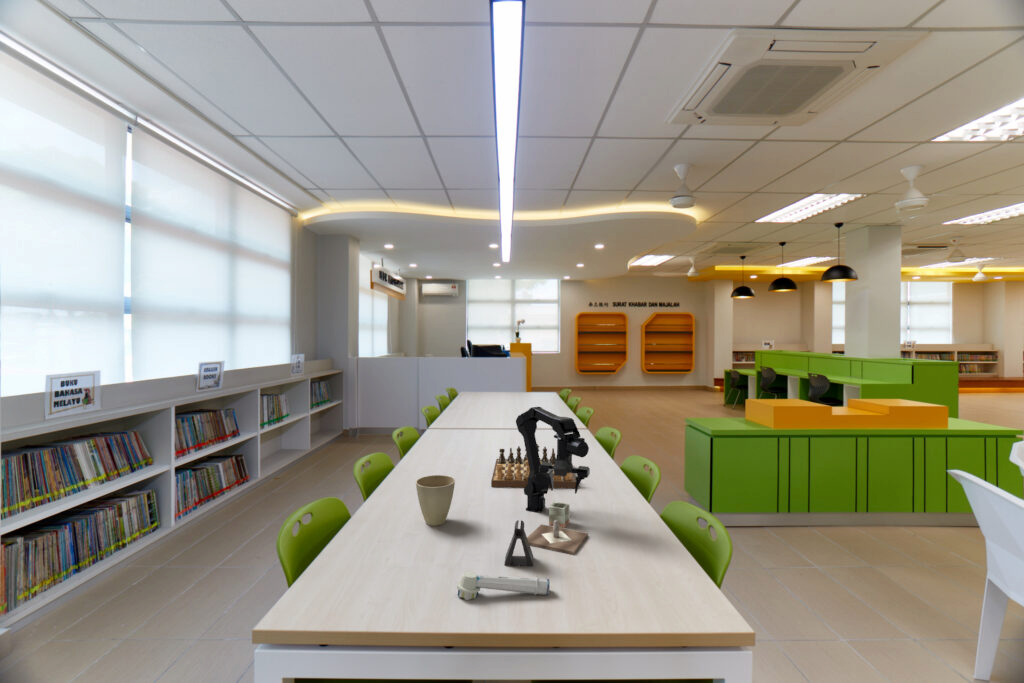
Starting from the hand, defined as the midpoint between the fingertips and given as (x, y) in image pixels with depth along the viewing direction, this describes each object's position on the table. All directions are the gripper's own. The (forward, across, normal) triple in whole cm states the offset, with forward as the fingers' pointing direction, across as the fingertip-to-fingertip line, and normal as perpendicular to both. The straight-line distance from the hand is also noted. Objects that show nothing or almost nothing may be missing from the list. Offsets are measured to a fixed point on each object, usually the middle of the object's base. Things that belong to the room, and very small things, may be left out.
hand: (563, 491), depth 176 cm
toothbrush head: (+12, -4, -54) cm, 56 cm away
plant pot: (+13, -46, -16) cm, 51 cm away
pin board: (+12, +1, -16) cm, 20 cm away
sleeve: (+12, -1, -1) cm, 12 cm away
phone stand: (+12, -6, -35) cm, 37 cm away
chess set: (+14, -29, +56) cm, 64 cm away
